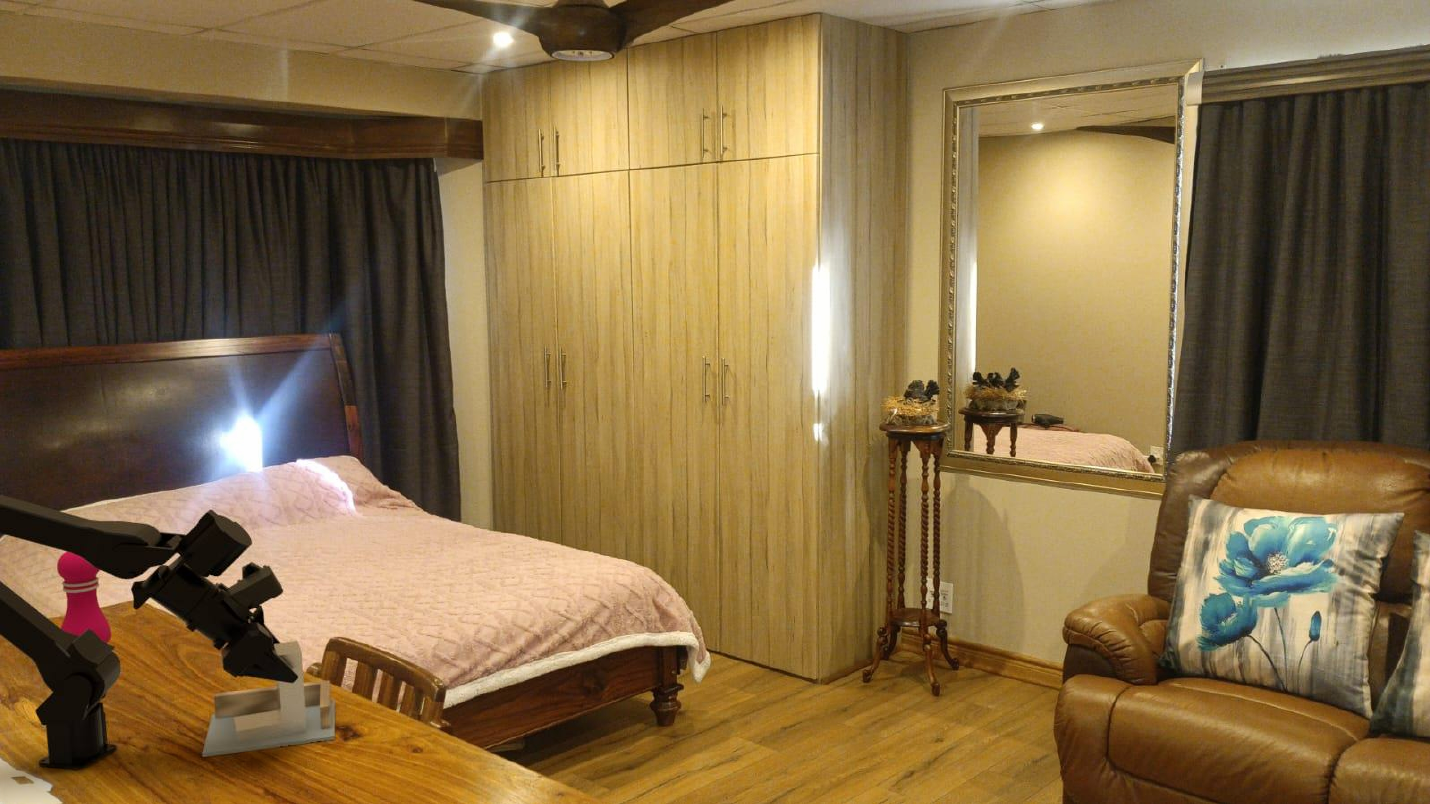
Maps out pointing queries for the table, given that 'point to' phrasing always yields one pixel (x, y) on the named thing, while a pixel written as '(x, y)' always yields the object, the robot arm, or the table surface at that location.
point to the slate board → (225, 742)
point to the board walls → (272, 701)
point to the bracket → (288, 701)
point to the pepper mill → (81, 597)
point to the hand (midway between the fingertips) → (291, 668)
